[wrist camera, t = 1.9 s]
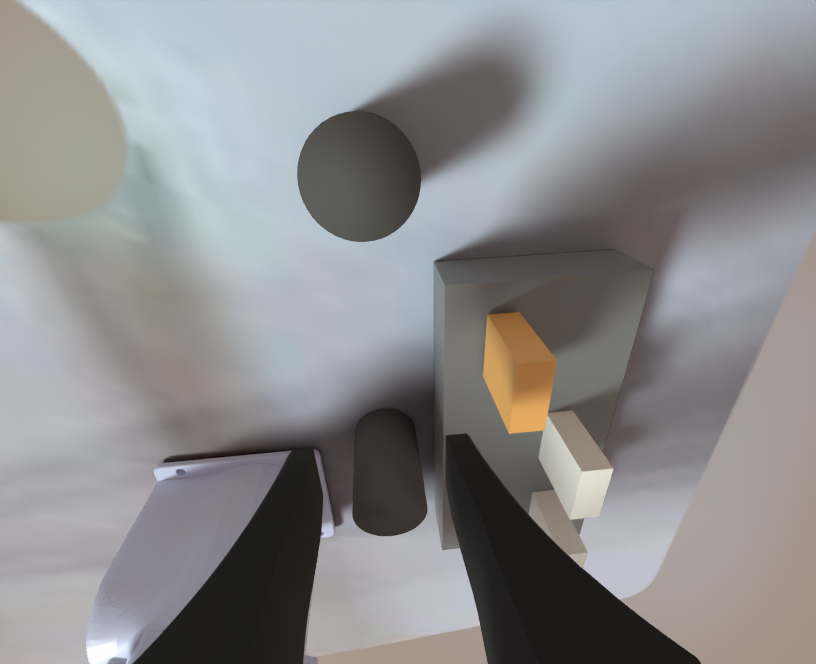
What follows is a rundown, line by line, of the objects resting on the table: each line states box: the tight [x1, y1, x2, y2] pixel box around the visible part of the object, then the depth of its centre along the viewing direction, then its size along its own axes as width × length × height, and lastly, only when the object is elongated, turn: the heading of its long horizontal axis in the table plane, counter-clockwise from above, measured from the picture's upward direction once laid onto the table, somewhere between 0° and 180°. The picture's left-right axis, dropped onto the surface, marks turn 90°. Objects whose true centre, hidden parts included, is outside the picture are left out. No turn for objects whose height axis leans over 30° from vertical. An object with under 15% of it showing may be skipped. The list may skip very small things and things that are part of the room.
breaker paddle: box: [483, 312, 557, 434], centre depth 16 cm, size 1×3×4 cm, turn 2°
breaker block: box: [434, 249, 654, 568], centre depth 20 cm, size 9×18×7 cm, turn 2°
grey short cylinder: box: [352, 409, 427, 536], centre depth 21 cm, size 4×4×6 cm
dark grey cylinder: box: [297, 111, 421, 242], centre depth 14 cm, size 4×4×6 cm
